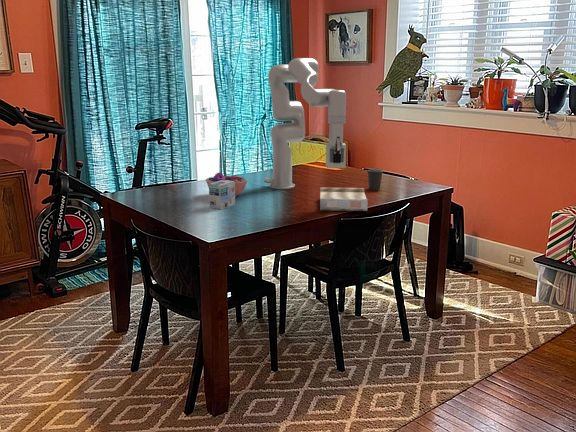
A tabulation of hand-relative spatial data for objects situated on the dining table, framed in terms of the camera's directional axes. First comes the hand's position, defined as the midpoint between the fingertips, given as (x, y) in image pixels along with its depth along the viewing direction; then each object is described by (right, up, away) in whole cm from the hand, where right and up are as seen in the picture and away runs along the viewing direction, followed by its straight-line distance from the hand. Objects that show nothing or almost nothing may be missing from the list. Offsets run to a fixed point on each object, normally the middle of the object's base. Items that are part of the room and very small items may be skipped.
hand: (335, 161), depth 251 cm
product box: (0, -2, +1) cm, 3 cm away
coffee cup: (+22, -11, +37) cm, 44 cm away
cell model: (-50, -15, +21) cm, 56 cm away
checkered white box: (+3, -19, +6) cm, 20 cm away
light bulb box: (-50, -20, +4) cm, 54 cm away
